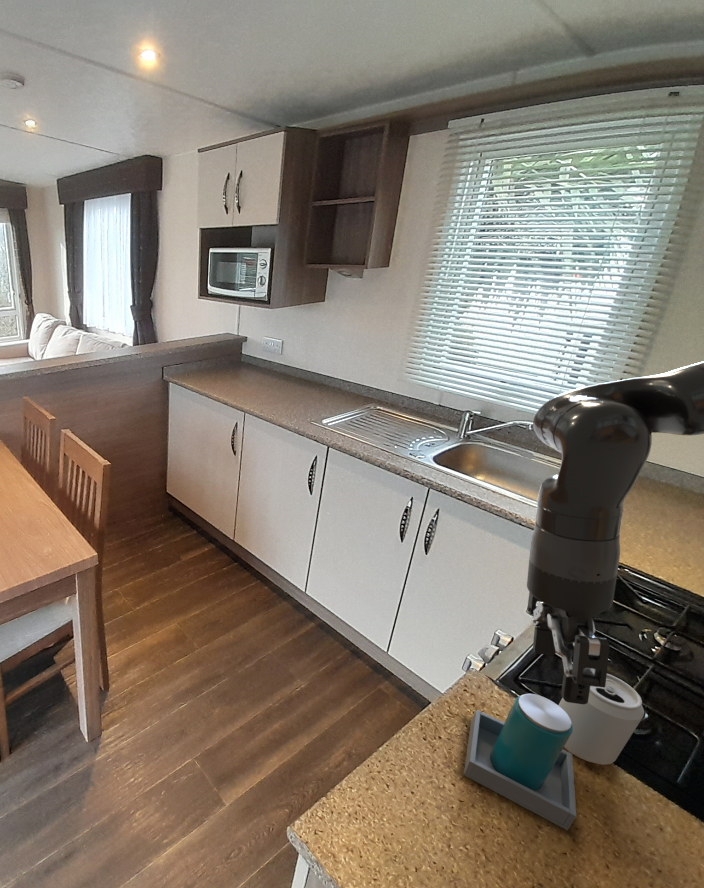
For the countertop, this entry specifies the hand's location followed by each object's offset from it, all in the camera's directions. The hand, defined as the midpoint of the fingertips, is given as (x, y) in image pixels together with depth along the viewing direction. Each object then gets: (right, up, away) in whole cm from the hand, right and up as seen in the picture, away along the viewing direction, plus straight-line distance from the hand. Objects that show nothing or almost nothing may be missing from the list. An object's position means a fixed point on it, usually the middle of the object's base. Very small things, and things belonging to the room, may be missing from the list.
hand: (557, 675), depth 60 cm
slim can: (+1, -17, +8) cm, 19 cm away
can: (+14, -16, +12) cm, 24 cm away
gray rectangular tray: (+1, -18, +8) cm, 20 cm away
